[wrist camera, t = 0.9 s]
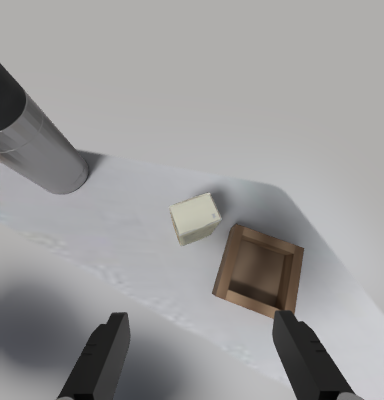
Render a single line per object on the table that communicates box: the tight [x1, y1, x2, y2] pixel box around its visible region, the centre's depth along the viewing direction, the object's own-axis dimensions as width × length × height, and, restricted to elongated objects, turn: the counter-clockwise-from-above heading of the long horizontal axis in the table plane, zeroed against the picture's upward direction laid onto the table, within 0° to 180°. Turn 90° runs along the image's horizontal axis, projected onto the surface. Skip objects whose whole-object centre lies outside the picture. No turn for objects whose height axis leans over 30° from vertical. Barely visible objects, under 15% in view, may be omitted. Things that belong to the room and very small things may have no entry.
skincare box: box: [169, 193, 222, 246], centre depth 31 cm, size 6×4×12 cm
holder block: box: [212, 224, 304, 319], centre depth 33 cm, size 12×12×4 cm
